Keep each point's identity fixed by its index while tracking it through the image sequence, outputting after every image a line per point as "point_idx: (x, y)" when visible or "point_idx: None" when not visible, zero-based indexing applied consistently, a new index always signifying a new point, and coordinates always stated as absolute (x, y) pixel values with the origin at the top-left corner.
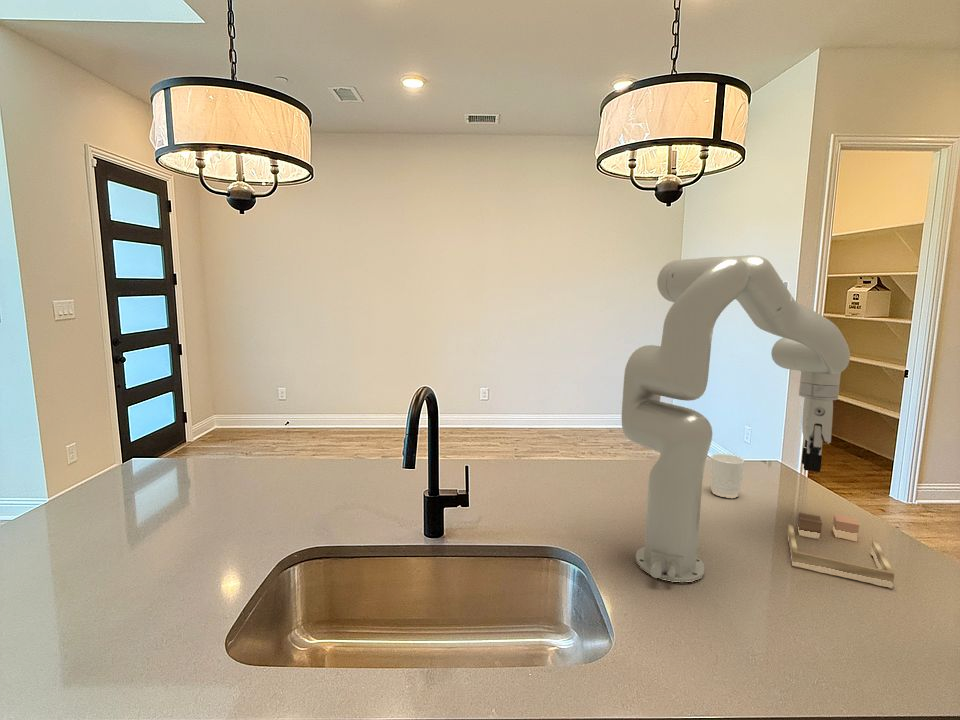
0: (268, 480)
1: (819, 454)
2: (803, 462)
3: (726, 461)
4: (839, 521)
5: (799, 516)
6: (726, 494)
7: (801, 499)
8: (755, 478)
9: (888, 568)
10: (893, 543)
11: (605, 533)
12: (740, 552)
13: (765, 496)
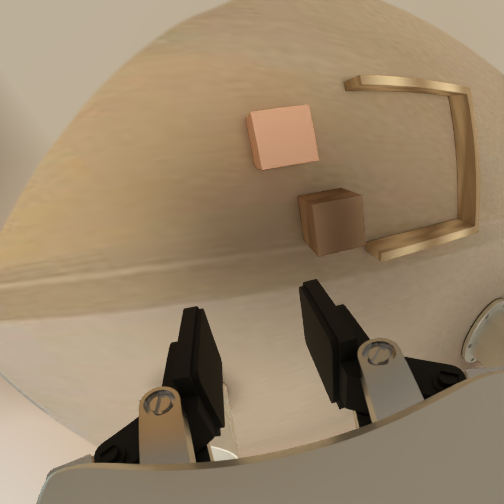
0: None
1: (393, 350)
2: (221, 364)
3: None
4: (317, 153)
5: (344, 250)
6: (226, 392)
7: (80, 265)
8: (50, 358)
9: (461, 90)
10: (236, 42)
11: None
12: (448, 292)
13: (134, 333)
